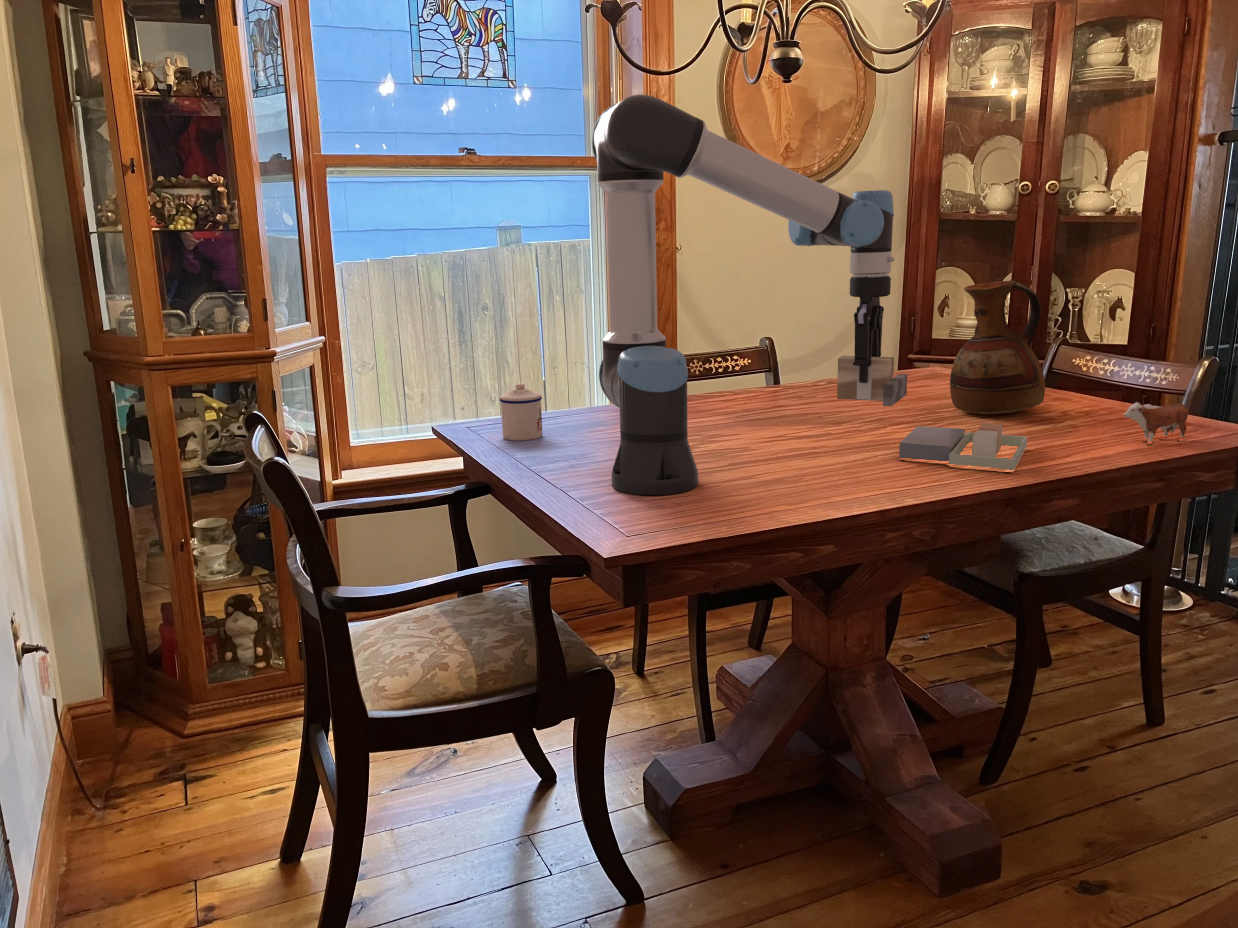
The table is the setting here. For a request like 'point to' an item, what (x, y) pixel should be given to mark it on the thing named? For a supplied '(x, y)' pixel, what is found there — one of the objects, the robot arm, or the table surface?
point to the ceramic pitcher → (997, 357)
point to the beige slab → (882, 380)
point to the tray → (989, 461)
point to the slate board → (930, 443)
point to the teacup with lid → (521, 414)
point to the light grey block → (984, 443)
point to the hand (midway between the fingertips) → (866, 396)
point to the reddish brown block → (993, 428)
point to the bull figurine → (1158, 418)
